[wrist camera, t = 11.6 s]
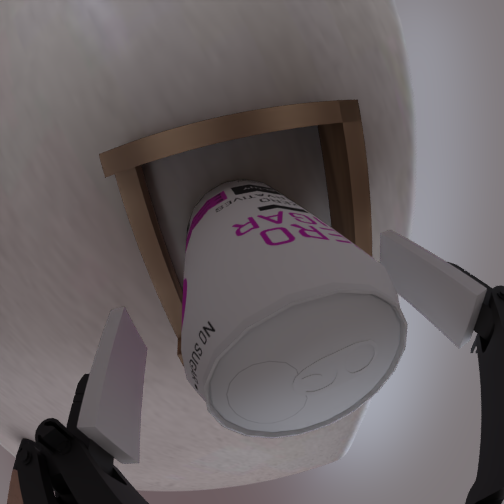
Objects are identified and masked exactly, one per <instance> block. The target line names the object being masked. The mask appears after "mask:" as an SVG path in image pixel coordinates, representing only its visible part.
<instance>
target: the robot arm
mask: <svg viewBox="0 0 504 504" xmlns="http://www.w3.org/2000/svg"><path fill="white" fill-rule="evenodd" d="M380 264H382V265H383V266H384V267H385V269H386V271H387V273H388V275H389V277H390V279H391V281H392V283H393V285H394V287H395V289H396V292H397V293H398V294H399V295H400V296H401V297H403V298H404V299H405V300H406V301H407V302H409V303H410V304H411V305H412V306H413V307H414V308H415V309H416V310H418V311H419V312H420V313H421V314H422V315H423V316H424V317H425V318H427V319H428V320H429V321H430V322H431V323H432V324H433V325H434V326H435V327H437V328H438V329H439V330H440V331H441V332H442V333H443V334H444V335H445V336H446V337H447V338H448V339H449V340H450V341H451V342H453V343H454V344H455V345H456V346H457V347H458V348H461V347H462V346H463V345H465V344H466V343H467V342H469V341H470V338H471V336H472V333H473V330H474V331H475V332H477V333H478V334H477V336H476V339H475V341H474V343H473V346H472V348H471V353H473V351H474V349H475V347H476V346H477V350H476V353H478V361H479V370H480V383H481V404H482V405H481V406H482V407H481V408H482V410H481V411H482V416H481V417H482V419H481V420H482V422H481V444H480V455H479V464H478V472H477V477H476V481H475V483H474V484H473V486H472V488H471V489H470V491H469V493H468V496H467V499H466V503H465V504H501V503H502V501H503V500H504V286H496V287H494V288H493V289H492V288H491V287H489V286H488V285H487V284H485V283H483V282H482V281H481V280H479V279H478V278H476V277H475V276H473V275H470V273H468V272H467V271H464V269H462V268H461V267H459V266H457V265H455V264H452V263H449V262H446V261H444V260H443V259H441V258H439V257H438V256H436V255H435V254H433V253H431V252H430V251H428V250H426V249H424V248H423V247H421V246H419V245H418V244H416V243H414V242H412V241H411V240H409V239H407V238H405V237H404V236H402V235H400V234H398V233H396V232H394V231H393V230H388V231H385V232H382V233H380ZM146 355H147V347H146V345H145V344H144V342H143V340H142V338H141V337H140V335H139V333H138V331H137V329H136V328H135V326H134V324H133V322H132V320H131V318H130V316H129V314H128V313H127V311H126V309H125V307H120V308H116V309H112V310H111V311H110V314H109V316H108V319H107V322H106V325H105V328H104V330H103V333H102V336H101V339H100V342H99V345H98V348H97V352H96V355H95V358H94V361H93V365H92V368H91V371H90V374H84V375H83V377H82V378H81V380H80V381H79V383H78V385H77V389H76V392H75V394H76V395H75V396H74V399H73V403H72V407H71V411H70V415H69V419H68V423H67V427H65V426H64V425H63V424H61V423H60V422H59V421H58V420H57V419H54V418H49V419H46V420H44V421H43V422H42V423H41V424H40V425H39V426H38V428H37V430H36V434H35V440H36V443H37V444H38V445H40V446H41V447H42V448H43V449H42V450H38V449H37V448H36V447H34V446H33V445H31V444H24V445H23V446H21V447H20V449H19V450H18V452H17V455H16V465H17V472H18V479H19V485H20V490H21V495H22V500H23V504H149V503H148V502H147V501H145V499H144V498H143V497H142V496H141V495H140V494H139V493H138V492H137V491H136V490H135V488H134V487H133V486H132V485H131V484H130V483H129V482H128V480H127V479H126V478H125V477H124V476H123V474H122V473H121V472H120V471H119V470H118V468H116V467H115V466H114V465H113V460H114V458H115V459H116V460H118V461H119V462H121V463H122V464H131V463H139V459H140V425H141V408H142V394H143V383H144V373H145V364H146ZM54 491H55V495H54ZM55 496H56V497H55Z"/></svg>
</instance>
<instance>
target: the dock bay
mask: <svg viewBox="0 0 504 504" xmlns="http://www.w3.org/2000/svg"><path fill="white" fill-rule="evenodd" d="M314 125H318V130H319V136H320V142H321V148H322V154H323V161H324V167H325V174H326V182H327V190H328V198H329V206H330V216H331V225H332V228H333V229H334V230H336V231H337V232H338V233H340V234H341V235H343V236H344V237H345V238H347V239H348V240H350V241H351V242H352V243H354V244H355V245H356V246H358V247H359V248H360V249H362V250H363V251H365V252H366V253H367V254H369V255H370V256H371V257H372V226H371V204H370V189H369V177H368V167H367V158H366V150H365V142H364V135H363V128H362V122H361V115H360V110H359V104H358V100H337V101H323V102H311V103H301V104H292V105H284V106H277V107H270V108H264V109H258V110H252V111H246V112H241V113H236V114H231V115H226V116H221V117H217V118H212V119H208V120H204V121H200V122H196V123H192V124H188V125H184V126H181V127H177V128H174V129H170V130H167V131H163V132H160V133H157V134H154V135H151V136H147V137H144V138H141V139H138V140H136V141H133V142H130V143H127V144H124V145H122V146H119V147H116V148H114V149H111V150H108V151H106V152H103V153H101V154H99V156H100V160H101V164H102V168H103V171H104V175H105V178H106V177H108V176H111V175H114V174H115V177H116V180H117V184H118V187H119V190H120V194H121V197H122V200H123V203H124V206H125V210H126V213H127V216H128V219H129V222H130V224H131V227H132V230H133V233H134V236H135V239H136V241H137V244H138V247H139V250H140V252H141V255H142V257H143V260H144V263H145V265H146V268H147V270H148V273H149V275H150V278H151V280H152V282H153V285H154V287H155V290H156V292H157V294H158V297H159V299H160V301H161V304H162V306H163V308H164V310H165V312H166V315H167V317H168V319H169V321H170V323H171V325H172V328H173V330H174V332H175V334H176V336H177V338H178V352H177V355H178V357H179V359H180V361H181V362H182V364H183V366H184V363H183V358H182V353H181V330H182V301H183V292H182V289H181V286H180V284H179V281H178V278H177V276H176V273H175V270H174V268H173V265H172V262H171V259H170V256H169V254H168V251H167V248H166V245H165V242H164V239H163V236H162V233H161V230H160V227H159V224H158V221H157V218H156V214H155V211H154V208H153V205H152V201H151V198H150V195H149V191H148V188H147V184H146V181H145V177H144V174H143V170H142V166H141V165H142V164H145V163H148V162H151V161H155V160H158V159H161V158H164V157H168V156H171V155H174V154H178V153H181V152H185V151H189V150H192V149H196V148H200V147H204V146H208V145H212V144H216V143H220V142H224V141H229V140H233V139H238V138H243V137H247V136H252V135H258V134H263V133H268V132H274V131H280V130H286V129H293V128H299V127H307V126H314Z"/></svg>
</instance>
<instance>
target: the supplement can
mask: <svg viewBox="0 0 504 504" xmlns="http://www.w3.org/2000/svg"><path fill="white" fill-rule="evenodd" d="M406 337H407V322H406V320H405V318H404V315H403V313H402V311H401V309H400V305H399V301H398V296H397V292H396V289H395V287H394V285H393V283H392V281H391V279H390V277H389V275H388V273H387V271H386V269H385V267H384V266H383V265H382V264H380V263H379V262H378V261H377V260H375V259H374V258H373V257H371V256H370V255H369V254H367V253H366V252H365V251H363V250H362V249H360V248H359V247H358V246H356V245H355V244H354V243H352V242H351V241H350V240H348V239H347V238H345V237H344V236H343V235H341V234H340V233H338V232H337V231H336V230H334V229H333V228H331V227H330V226H328V225H327V224H326V223H324V222H323V221H321V220H320V219H318V218H317V217H315V216H314V215H312V214H311V213H310V212H308V211H307V210H305V209H304V208H302V207H301V206H299V205H298V204H296V203H295V202H293V201H292V200H290V199H288V198H287V197H285V196H284V195H282V194H281V193H279V192H278V191H276V190H274V189H273V188H271V187H269V186H268V185H266V184H264V183H262V182H256V181H250V180H244V179H242V180H237V181H232V182H227V183H223V184H221V185H219V186H218V187H216V188H214V189H213V190H211V191H209V192H208V193H206V194H205V195H204V197H203V198H202V199H201V200H200V202H199V203H198V204H197V205H196V207H195V208H194V209H193V212H192V215H191V218H190V221H189V225H188V228H187V239H186V252H185V266H184V282H183V301H182V330H181V353H182V358H183V363H184V368H185V373H186V377H187V380H188V381H189V383H190V384H191V385H192V386H193V387H194V389H195V390H196V391H197V392H198V393H199V395H200V396H201V397H202V398H203V399H204V401H205V402H206V405H207V410H208V412H209V413H210V414H211V415H212V416H213V417H214V418H215V419H216V420H217V421H218V422H219V423H220V424H221V425H222V426H223V427H225V428H227V429H229V430H232V431H234V432H237V433H239V434H242V435H245V436H251V437H261V438H280V437H288V436H295V435H301V434H304V433H308V432H311V431H314V430H317V429H320V428H322V427H325V426H328V425H330V424H332V423H334V422H336V421H338V420H340V419H341V418H343V417H345V416H347V415H349V414H350V413H352V412H354V411H355V410H357V409H358V408H359V407H360V406H362V405H363V404H364V403H365V402H367V401H368V400H369V399H370V398H371V397H373V396H374V395H375V394H376V393H377V392H378V391H379V390H380V388H381V387H382V386H383V385H384V384H385V382H386V381H387V380H388V379H389V377H390V376H391V375H392V374H393V372H394V371H395V369H396V367H397V365H398V363H399V361H400V358H401V356H402V354H403V352H404V350H405V347H406Z"/></svg>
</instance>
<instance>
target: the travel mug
mask: <svg viewBox="0 0 504 504" xmlns="http://www.w3.org/2000/svg"><path fill="white" fill-rule="evenodd" d="M24 444H31V445H33V446H34V447H36V448H37V449H38V450H42V449H43V448H42V447H41V446H40V445H38V444H37V443H35V442H33V441H31V440H28V439H22V441H21V444H20V447H21V446H23V445H24ZM20 447H19V449H20ZM7 504H23V500H22V495H21V490H20V485H19V479H18V472H17V465H16V460H15V463H14V467H13V471H12V476H11V481H10V487H9V494H8V500H7Z"/></svg>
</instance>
